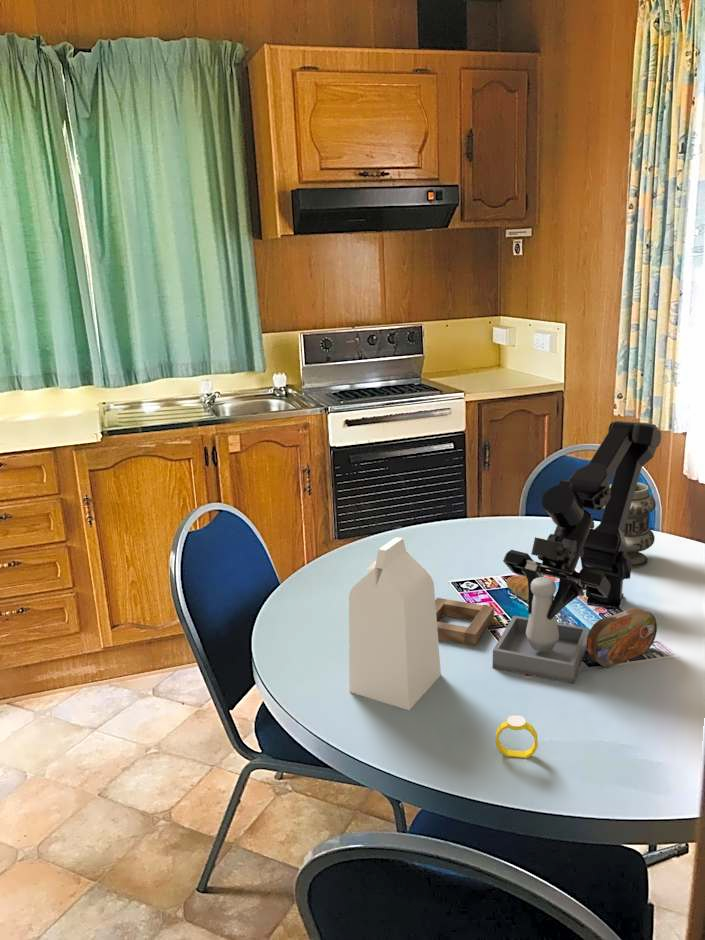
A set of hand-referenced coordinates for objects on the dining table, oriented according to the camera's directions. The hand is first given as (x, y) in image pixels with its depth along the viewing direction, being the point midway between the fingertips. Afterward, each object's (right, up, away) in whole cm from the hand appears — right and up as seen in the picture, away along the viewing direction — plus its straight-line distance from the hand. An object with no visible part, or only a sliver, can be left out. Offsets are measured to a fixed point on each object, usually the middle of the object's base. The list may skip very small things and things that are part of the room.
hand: (539, 615), depth 135 cm
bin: (+1, -8, +3) cm, 9 cm away
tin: (+15, -8, +2) cm, 17 cm away
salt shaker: (+1, -6, +3) cm, 7 cm away
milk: (-26, -11, -3) cm, 28 cm away
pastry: (+4, -1, +28) cm, 29 cm away
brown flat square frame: (-13, -5, +15) cm, 21 cm away
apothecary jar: (+30, +5, +43) cm, 53 cm away
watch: (-9, -16, -23) cm, 29 cm away
